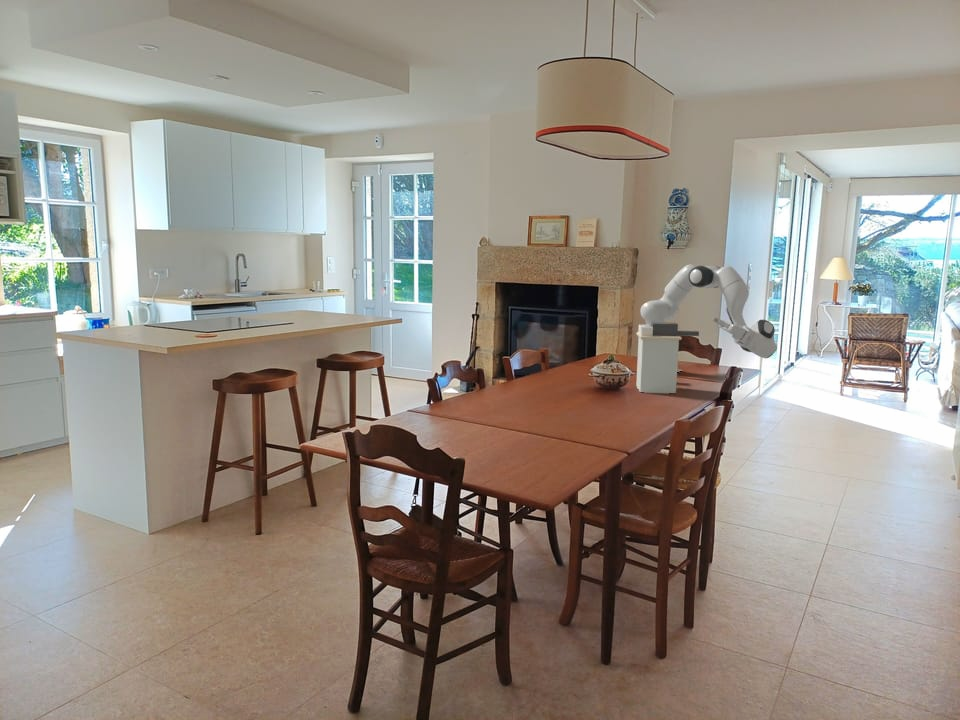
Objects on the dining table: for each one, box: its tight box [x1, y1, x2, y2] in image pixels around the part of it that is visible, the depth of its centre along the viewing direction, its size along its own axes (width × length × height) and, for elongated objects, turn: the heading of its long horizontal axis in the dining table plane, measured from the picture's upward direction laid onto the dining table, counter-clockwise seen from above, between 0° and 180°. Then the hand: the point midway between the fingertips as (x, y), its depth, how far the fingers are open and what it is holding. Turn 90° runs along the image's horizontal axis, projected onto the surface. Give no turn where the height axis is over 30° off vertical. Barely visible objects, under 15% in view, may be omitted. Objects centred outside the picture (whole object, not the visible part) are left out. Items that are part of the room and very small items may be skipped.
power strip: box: [637, 323, 653, 336], centre depth 317 cm, size 5×12×4 cm, turn 174°
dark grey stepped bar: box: [651, 321, 700, 337], centre depth 315 cm, size 24×7×6 cm, turn 84°
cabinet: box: [635, 331, 683, 394], centre depth 318 cm, size 18×18×26 cm
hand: (716, 319), depth 312 cm, fingers open, 8 cm apart
